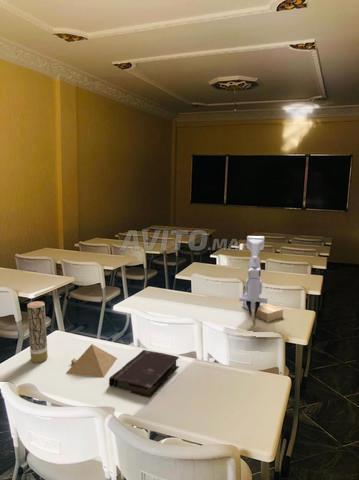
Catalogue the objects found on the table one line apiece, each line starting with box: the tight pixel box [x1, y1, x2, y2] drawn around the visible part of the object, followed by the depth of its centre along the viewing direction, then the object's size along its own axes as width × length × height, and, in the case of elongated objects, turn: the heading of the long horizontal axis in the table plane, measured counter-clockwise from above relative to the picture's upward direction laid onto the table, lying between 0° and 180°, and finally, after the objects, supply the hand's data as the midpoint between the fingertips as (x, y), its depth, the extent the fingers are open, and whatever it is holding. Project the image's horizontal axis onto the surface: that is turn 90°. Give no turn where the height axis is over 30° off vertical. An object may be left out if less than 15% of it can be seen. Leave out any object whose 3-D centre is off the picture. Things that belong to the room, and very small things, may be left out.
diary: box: [108, 349, 180, 399], centre depth 152 cm, size 19×25×5 cm
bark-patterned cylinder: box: [26, 300, 48, 363], centre depth 163 cm, size 7×7×25 cm
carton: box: [253, 303, 284, 322], centre depth 216 cm, size 11×12×4 cm
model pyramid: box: [65, 343, 118, 378], centre depth 160 cm, size 17×17×10 cm
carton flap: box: [251, 308, 256, 324], centre depth 210 cm, size 13×1×7 cm, turn 173°
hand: (252, 314), depth 205 cm, fingers closed
